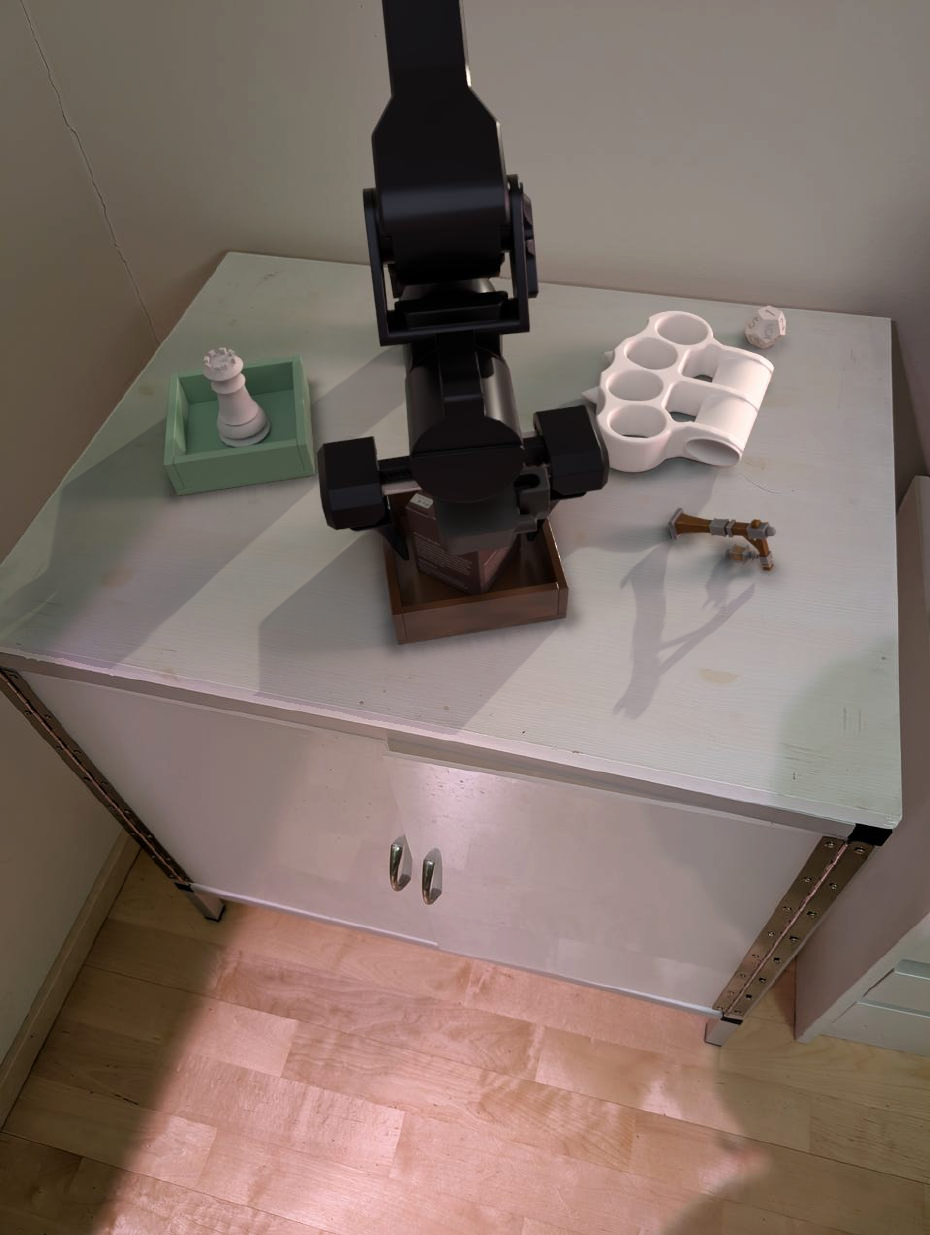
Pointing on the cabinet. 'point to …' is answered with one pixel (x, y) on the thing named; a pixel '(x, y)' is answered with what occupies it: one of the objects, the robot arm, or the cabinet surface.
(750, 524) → the wooden post with brackets
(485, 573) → the box
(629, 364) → the white brass knuckles
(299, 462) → the green bin
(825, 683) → the cabinet surface
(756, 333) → the game die
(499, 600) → the walnut tray
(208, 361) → the rook chess piece
